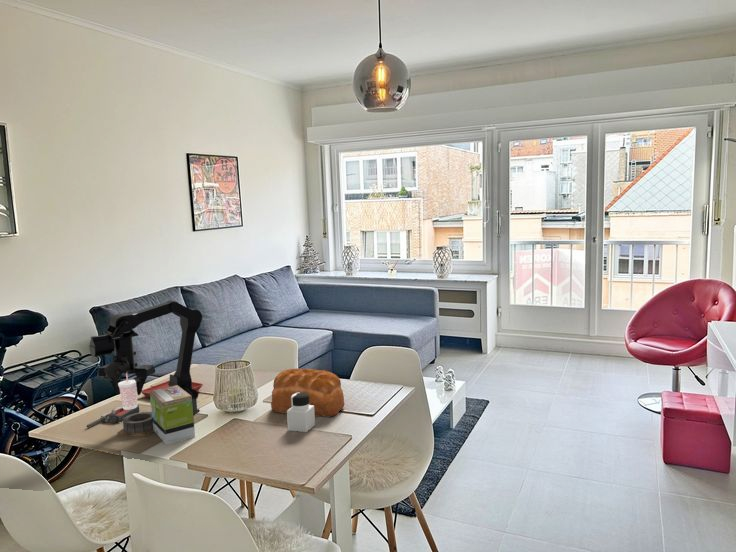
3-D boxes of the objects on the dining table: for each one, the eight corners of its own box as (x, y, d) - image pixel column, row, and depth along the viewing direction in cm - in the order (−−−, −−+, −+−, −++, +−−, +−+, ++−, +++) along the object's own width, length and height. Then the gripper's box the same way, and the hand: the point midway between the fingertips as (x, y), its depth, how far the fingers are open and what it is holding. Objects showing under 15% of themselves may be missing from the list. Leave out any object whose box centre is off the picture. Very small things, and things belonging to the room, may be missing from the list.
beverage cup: (116, 409, 195) (112, 370, 193) (129, 403, 200) (125, 365, 199) (130, 411, 193) (126, 371, 191) (143, 404, 198) (139, 366, 196)
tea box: (152, 431, 195) (148, 390, 193) (181, 424, 201) (178, 384, 199) (165, 445, 183) (162, 401, 181) (196, 437, 189) (193, 394, 187)
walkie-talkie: (124, 410, 219) (84, 430, 200) (123, 399, 218) (83, 418, 199) (143, 411, 216) (105, 432, 197) (142, 400, 216) (104, 419, 197)
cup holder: (162, 424, 201) (161, 412, 201) (145, 436, 191) (144, 423, 190) (135, 423, 203) (134, 411, 203) (117, 435, 193) (116, 422, 192)
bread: (333, 419, 201) (331, 377, 199) (267, 412, 210) (265, 372, 208) (347, 406, 214) (345, 366, 212) (284, 400, 223) (282, 362, 221)
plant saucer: (170, 404, 223) (169, 396, 223) (139, 398, 232) (139, 390, 232) (204, 391, 239) (204, 383, 238) (174, 385, 248) (174, 378, 247)
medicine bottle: (315, 425, 196) (313, 391, 195) (306, 432, 190) (304, 398, 188) (296, 423, 199) (295, 389, 197) (287, 430, 192) (285, 396, 190)
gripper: (84, 356, 188) (89, 402, 190) (134, 357, 184) (139, 403, 186) (106, 348, 199) (110, 391, 201) (153, 348, 195) (158, 392, 197)
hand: (128, 394), depth 196 cm, fingers closed on beverage cup, 7 cm apart
